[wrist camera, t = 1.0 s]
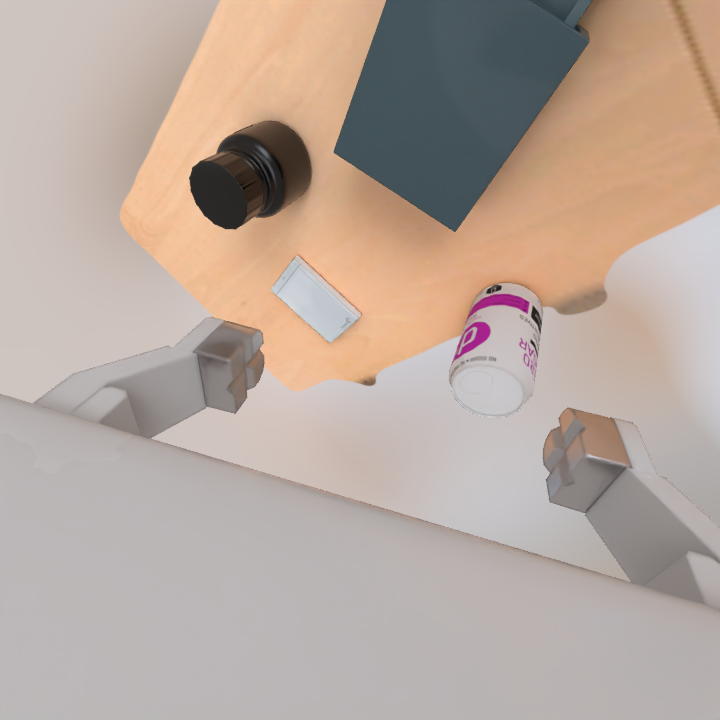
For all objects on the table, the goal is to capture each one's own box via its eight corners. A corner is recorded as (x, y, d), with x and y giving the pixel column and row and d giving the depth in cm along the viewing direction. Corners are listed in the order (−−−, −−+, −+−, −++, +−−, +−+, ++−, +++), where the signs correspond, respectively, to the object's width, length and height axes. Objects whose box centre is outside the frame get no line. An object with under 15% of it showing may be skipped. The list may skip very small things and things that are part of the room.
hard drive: (358, 319, 57) (292, 259, 54) (329, 344, 63) (268, 291, 60) (362, 313, 58) (298, 253, 55) (333, 338, 64) (274, 285, 61)
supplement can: (459, 308, 51) (429, 386, 41) (508, 266, 45) (486, 346, 35) (505, 346, 52) (487, 431, 42) (559, 310, 46) (552, 400, 36)
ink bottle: (239, 114, 45) (165, 141, 37) (306, 115, 43) (242, 145, 35) (258, 199, 52) (199, 237, 44) (317, 205, 49) (265, 247, 41)
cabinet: (442, -68, 30) (413, -80, 25) (588, 32, 30) (590, 40, 25) (363, 132, 42) (332, 152, 36) (470, 202, 42) (455, 232, 37)
